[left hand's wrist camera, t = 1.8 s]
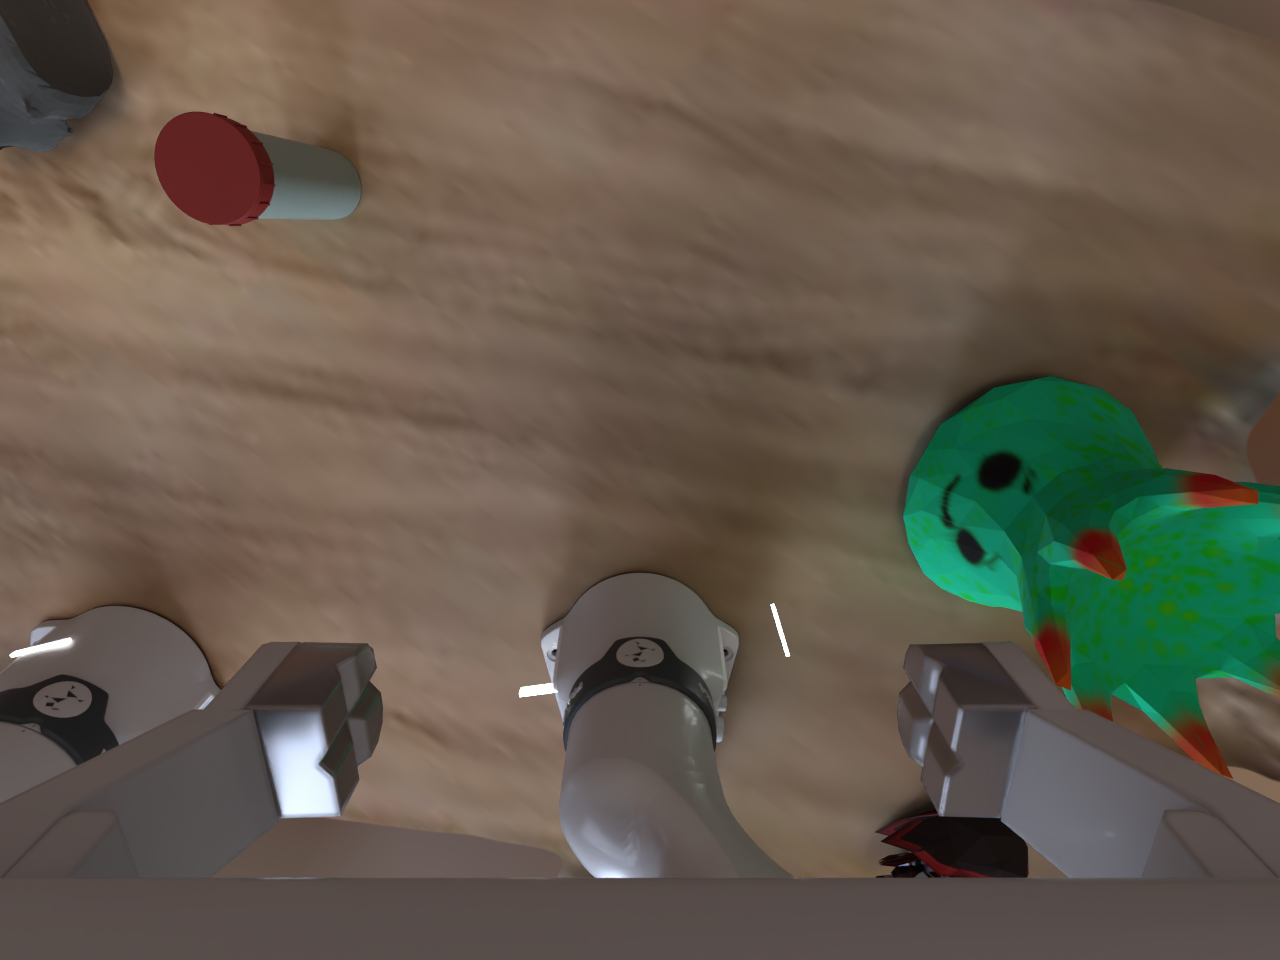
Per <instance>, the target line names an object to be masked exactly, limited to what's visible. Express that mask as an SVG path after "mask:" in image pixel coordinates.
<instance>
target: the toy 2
mask: <svg viewBox="0 0 1280 960" xmlns="http://www.w3.org/2000/svg"><path fill="white" fill-rule="evenodd" d="M903 518H904V523H905V528H906V533H907V538H908V543H909V545H910V547H911V549H912V551H913V553H914V555H915V557H916V559H917V561H918V563H919V565H920V567H921V569H922V571H923V573H924V574H925V575H926V576H927V577H929V578H930V579H931V580H932V581H933V582H935V583H936V584H937V585H938V586H939V587H941V588H942V589H944V590H946V591H948V592H951V593H953V594H955V595H957V596H960V597H962V598H964V599H966V600H968V601H971V602H975V603H979V604H984V605H988V606H992V607H1006V608H1010V609H1014V610H1018V611H1022V612H1023V617H1024V623H1025V627H1026V629H1027V631H1028V633H1029V635H1030V637H1031V638H1032V640H1033V642H1034V644H1035V646H1036V648H1037V650H1038V652H1039V654H1040V655H1041V657H1042V659H1043V661H1044V663H1045V665H1046V667H1047V669H1048V670H1049V672H1050V674H1051V676H1052V678H1053V680H1054V682H1055V684H1056V685H1058V686H1061V687H1062V688H1063V691H1064V693H1065V695H1066V698H1067V699H1068V701H1069V702H1070V703H1071V704H1072V705H1073V706H1074V707H1075V708H1076V709H1088V710H1090V711H1092V712H1094V713H1096V714H1098V715H1100V716H1102V717H1104V718H1106V719H1108V720H1110V721H1112V722H1113V719H1112V714H1111V694H1112V695H1114V696H1116V697H1118V698H1120V699H1122V700H1124V701H1125V702H1127V703H1129V704H1131V705H1133V706H1135V707H1137V708H1139V709H1141V710H1142V711H1144V712H1145V713H1146V714H1147V715H1148V716H1149V717H1150V718H1151V719H1152V720H1153V721H1154V722H1155V723H1156V724H1157V725H1158V726H1159V727H1160V728H1161V729H1162V730H1163V731H1165V732H1166V733H1167V734H1168V735H1169V736H1170V737H1171V738H1172V739H1173V740H1174V741H1175V742H1176V743H1177V744H1178V745H1179V746H1180V747H1181V748H1182V749H1183V750H1184V751H1185V752H1186V753H1187V754H1188V755H1189V756H1190V757H1192V758H1193V759H1194V760H1195V761H1196V762H1197V763H1198V764H1200V765H1202V766H1204V767H1206V768H1208V769H1210V770H1212V771H1214V772H1216V773H1218V774H1220V775H1223V776H1225V777H1228V778H1232V776H1231V774H1230V772H1229V770H1228V768H1227V766H1226V764H1225V762H1224V760H1223V758H1222V756H1221V754H1220V752H1219V750H1218V748H1217V746H1216V744H1215V742H1214V740H1213V738H1212V736H1211V734H1210V732H1209V730H1208V727H1207V724H1206V722H1205V719H1204V716H1203V714H1202V711H1201V708H1200V706H1199V700H1198V693H1197V686H1196V680H1195V679H1196V678H1220V677H1235V678H1237V679H1239V680H1241V681H1243V682H1245V683H1248V684H1250V685H1252V686H1254V687H1256V688H1259V689H1261V690H1263V691H1265V692H1267V693H1269V694H1272V695H1274V696H1276V697H1278V698H1280V641H1279V640H1278V639H1277V638H1276V629H1275V614H1277V613H1280V486H1273V485H1265V484H1257V483H1249V482H1232V481H1230V480H1227V479H1224V478H1222V477H1219V476H1216V475H1212V474H1204V473H1197V472H1189V471H1182V470H1174V469H1163V468H1162V467H1161V465H1160V464H1159V463H1158V461H1157V459H1156V457H1155V454H1154V450H1153V448H1152V446H1151V444H1150V442H1149V441H1148V439H1147V437H1146V435H1145V433H1144V432H1143V430H1142V428H1141V426H1140V424H1139V422H1138V421H1137V419H1136V417H1135V415H1134V413H1133V412H1132V411H1131V410H1130V409H1128V408H1127V407H1126V406H1124V405H1123V404H1122V403H1120V402H1119V401H1118V400H1116V399H1115V398H1114V397H1112V396H1111V395H1110V394H1108V393H1107V392H1106V391H1104V390H1103V389H1100V388H1096V387H1092V386H1089V385H1085V384H1081V383H1077V382H1073V381H1069V380H1065V379H1061V378H1057V377H1053V376H1048V377H1043V378H1038V379H1033V380H1029V381H1024V382H1019V383H1014V384H1009V385H1004V386H999V387H994V388H993V389H991V390H990V391H989V392H987V393H986V394H984V395H983V396H981V397H980V398H978V399H977V400H975V401H974V402H972V403H971V404H970V405H968V406H967V407H965V408H964V409H962V410H961V411H959V412H958V413H956V414H955V415H953V416H952V417H950V418H949V419H948V420H946V421H945V422H943V423H942V424H941V425H940V426H939V428H938V430H937V431H936V433H935V435H934V436H933V438H932V440H931V441H930V443H929V445H928V446H927V448H926V450H925V451H924V453H923V455H922V457H921V458H920V460H919V462H918V463H917V465H916V467H915V468H914V470H913V472H912V473H911V475H910V479H909V485H908V491H907V497H906V503H905V509H904V515H903Z"/></svg>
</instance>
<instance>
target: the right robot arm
mask: <svg viewBox="0 0 1280 960" xmlns="http://www.w3.org/2000/svg"><path fill="white" fill-rule="evenodd" d="M17 656H19V657H18V658H16V659H15V660H14V661H13V662H11V663H10V664H9V665H8V666H7V667H5V668H4V669H3V670H2V671H0V803H2V802H4V801H6V800H8V799H10V798H12V797H14V796H16V795H18V794H20V793H22V792H24V791H26V790H28V789H30V788H33V787H35V786H37V785H39V784H41V783H43V782H45V781H47V780H49V779H51V778H53V777H55V776H57V775H59V774H61V773H63V772H65V771H67V770H69V769H71V768H74V767H76V766H78V765H80V764H82V763H84V762H86V761H88V760H90V759H92V758H94V757H96V756H98V755H100V754H102V753H104V752H106V751H108V750H110V749H112V748H115V747H117V746H119V745H121V744H123V743H125V742H127V741H129V740H131V739H133V738H135V737H137V736H139V735H141V734H143V733H145V732H147V731H149V730H151V729H153V728H156V727H158V726H160V725H162V724H164V723H166V722H168V721H170V720H172V719H174V718H176V717H178V716H180V715H182V714H184V713H186V712H188V711H190V710H192V709H204V708H205V707H206V706H207V705H208V704H209V703H210V702H211V701H212V699H213V698H214V697H215V696H216V695H217V694H218V693H219V692H220V691H221V690H220V688H219V687H218V686H217V685H216V684H215V682H214V680H213V678H212V675H211V672H210V669H209V666H208V664H207V661H206V659H205V657H204V655H203V654H202V652H201V651H200V649H199V648H198V646H197V645H196V644H195V643H194V641H193V640H192V639H191V638H190V637H189V636H188V635H187V634H186V633H184V632H183V631H182V630H181V629H180V628H178V627H177V626H175V625H174V624H173V623H171V622H169V621H168V620H166V619H164V618H162V617H160V616H158V615H156V614H153V613H151V612H148V611H145V610H141V609H137V608H133V607H126V606H105V607H99V608H95V609H92V610H89V611H87V612H84V613H82V614H80V615H78V616H76V617H74V618H71V619H68V620H49V621H44V622H42V623H40V624H39V625H38V626H37V627H35V628H34V629H33V630H32V632H31V638H30V648H26V649H22V650H17V651H15V652H13V653H12V654H10V657H11V658H13V657H17Z"/></svg>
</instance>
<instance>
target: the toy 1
mask: <svg viewBox="0 0 1280 960" xmlns="http://www.w3.org/2000/svg"><path fill="white" fill-rule="evenodd" d="M1001 819H1002V818H982V817H947V816H939V815H938V813H937V811H936V810H934V811H930V812H926V813H922V814H918V815H914V816H910V817H906V818H903V819H901V820H898V821H896V822H894V823H892V824H890V825H888V826H886V827H884V828H882V829H880V830H878V831H876V833H880V834H884V835H888V837H887V838H885V839H884V840H882V841H881V842H884V843H887V844H890V845H893V846H896V847H899V848H903V849H906V850H909V851H911V852H912V853H908V852H907V853H902V854H896V855H889V856H887V857H885V858H883V859H881V860H883V861H881V860H879V861H881V863H880V862H879V863H880V864H881V865H884V866H894V867H895V869H894V870H893V871H892V872H891V873H892V875H883V876H876V877H875V878H949V877H950V878H1027V876H1028V874H1029V871H1028V847H1027V845H1026V843H1025V841H1024V840H1023V839H1022V838H1021V837H1020V836H1019V835H1017V834H1016V833H1015V832H1014V831H1013V830H1011V829H1010V828H1009V827H1008V826H1007V825H1005V824H1004V823H1003V822H1002V821H1001ZM884 859H885V860H884ZM891 859H892V860H891ZM884 861H885V862H884Z"/></svg>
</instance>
